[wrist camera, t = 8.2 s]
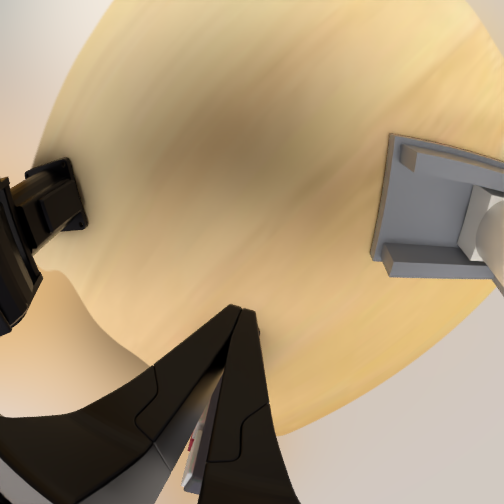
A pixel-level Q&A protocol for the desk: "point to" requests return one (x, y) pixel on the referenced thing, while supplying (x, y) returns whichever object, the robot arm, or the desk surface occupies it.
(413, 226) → the mount
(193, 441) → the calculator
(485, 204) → the teal-lidded white jar
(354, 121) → the desk surface
